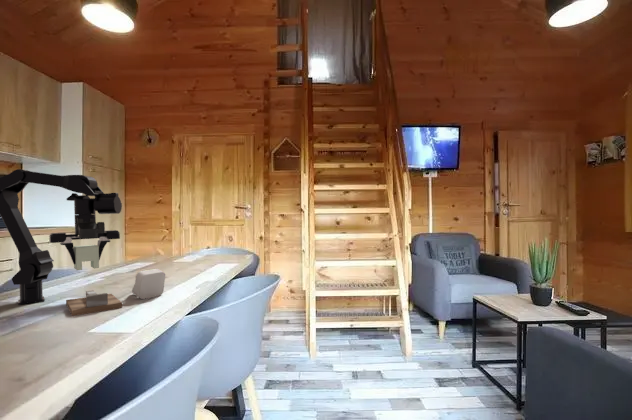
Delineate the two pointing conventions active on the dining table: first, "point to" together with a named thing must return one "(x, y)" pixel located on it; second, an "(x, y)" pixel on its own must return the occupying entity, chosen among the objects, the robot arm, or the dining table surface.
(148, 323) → the dining table surface
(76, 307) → the cleat board
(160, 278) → the grey rounded block piece
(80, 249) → the block
